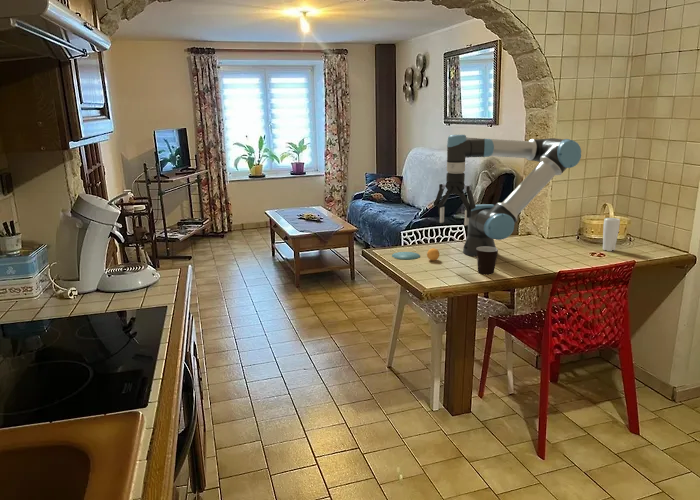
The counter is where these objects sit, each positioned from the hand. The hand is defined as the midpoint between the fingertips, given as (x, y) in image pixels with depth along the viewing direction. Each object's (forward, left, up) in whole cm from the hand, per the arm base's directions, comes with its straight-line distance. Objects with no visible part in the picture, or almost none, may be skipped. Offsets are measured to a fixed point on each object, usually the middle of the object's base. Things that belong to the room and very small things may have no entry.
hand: (453, 223), depth 226 cm
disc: (+24, 0, -18) cm, 30 cm away
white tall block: (-52, -60, -18) cm, 81 cm away
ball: (+10, 0, -15) cm, 18 cm away
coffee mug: (-17, +3, -18) cm, 25 cm away
